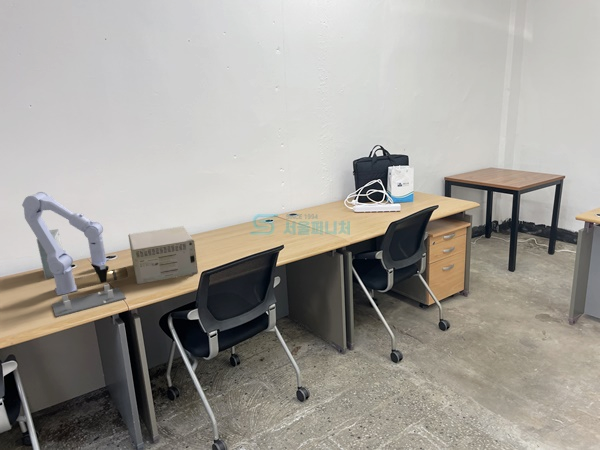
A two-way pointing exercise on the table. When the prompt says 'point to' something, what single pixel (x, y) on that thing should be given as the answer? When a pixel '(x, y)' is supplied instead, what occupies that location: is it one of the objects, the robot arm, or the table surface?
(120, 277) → the brass tube
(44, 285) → the table surface
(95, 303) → the gray cradle stand
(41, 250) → the hard drive box
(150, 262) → the beige vented electronics case
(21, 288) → the table surface
